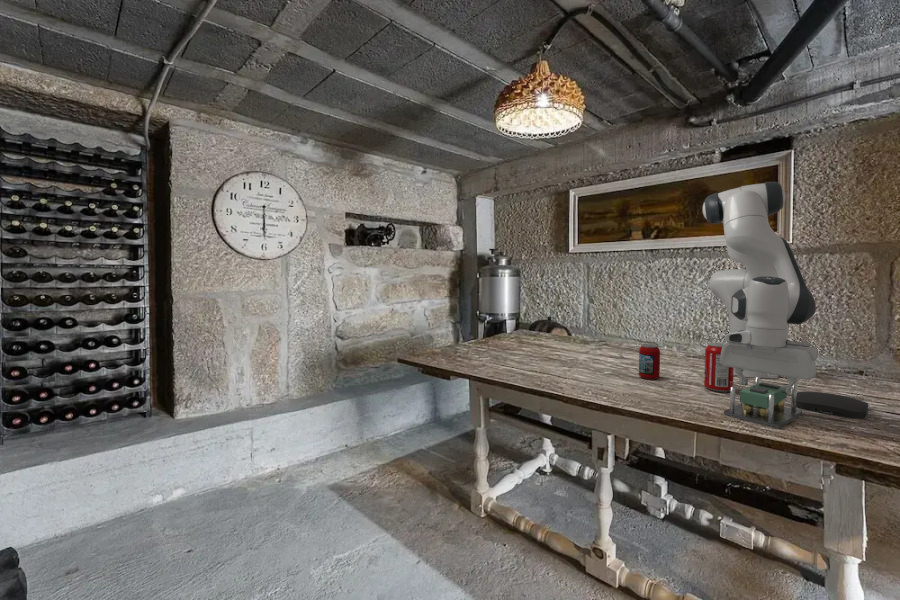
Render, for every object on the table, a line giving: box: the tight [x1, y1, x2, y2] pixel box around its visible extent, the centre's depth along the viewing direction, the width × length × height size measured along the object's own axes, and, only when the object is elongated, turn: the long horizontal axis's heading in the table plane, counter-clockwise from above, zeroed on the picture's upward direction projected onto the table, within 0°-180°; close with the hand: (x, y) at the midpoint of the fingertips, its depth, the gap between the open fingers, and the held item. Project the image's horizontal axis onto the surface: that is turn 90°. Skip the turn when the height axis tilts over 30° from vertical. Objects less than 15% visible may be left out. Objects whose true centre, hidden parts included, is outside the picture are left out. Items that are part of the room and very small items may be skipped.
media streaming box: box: [796, 391, 869, 420], centre depth 112 cm, size 15×15×3 cm
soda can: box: [703, 342, 735, 393], centre depth 129 cm, size 8×8×15 cm
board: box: [739, 381, 788, 408], centre depth 107 cm, size 14×6×4 cm, turn 124°
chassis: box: [723, 377, 803, 430], centre depth 107 cm, size 17×12×8 cm
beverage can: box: [638, 343, 661, 381], centre depth 144 cm, size 7×7×12 cm
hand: (764, 388), depth 107 cm, fingers open, 8 cm apart
